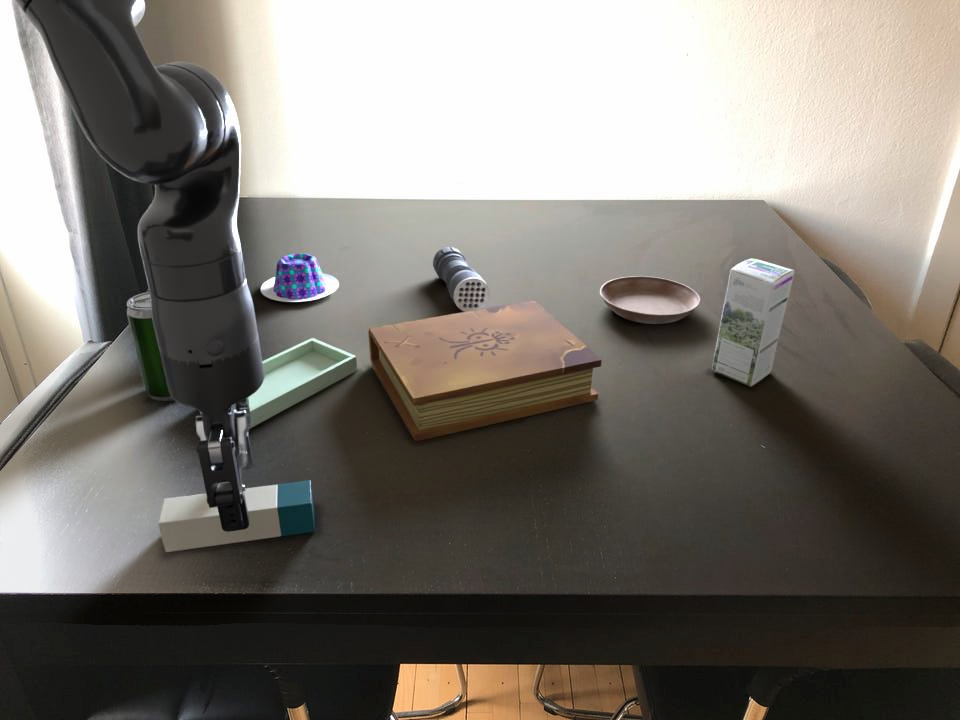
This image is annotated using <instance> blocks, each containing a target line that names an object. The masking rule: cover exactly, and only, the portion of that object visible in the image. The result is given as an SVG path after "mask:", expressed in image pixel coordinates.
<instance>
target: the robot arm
mask: <svg viewBox="0 0 960 720" xmlns="http://www.w3.org/2000/svg"><path fill="white" fill-rule="evenodd" d="M14 1H15V2H16V4H17V5H18V6H19V8H20V9H21V10H22V12H23V14H25V16H26V18H27V19H28V20H29V21H30V23H31V24H32V25H33V27H34V28H35V29H36V30H37V32H38V33H39V35H40V37H41V38H42V41H43V42H44V46H45V49H46V51H47V53H48V56H49V59H50V62H51V64H52V67H53V69H54V71H55V74H56V76H57V78H58V80H59V82H60V84H61V87H62V89H63V91H64V94H65V95H66V99H67V100H68V103H69V105H70V108H71V110H72V112H73V114H74V116H75V118H76V121H77V123H78V125H79V126H80V129H81V130H82V132H83V134H84V135H85V137H86V139H87V140H88V141H89V143H90V145H91V147H93V148H94V150H95V151H96V153H97V154H98V155H99V156H100V157H101V158H102V159H103V160H104V161H105V162H106V163H107V164H108V165H109V166H111V168H113V169H114V170H116V171H117V172H119V173H120V174H121V175H122V176H124V177H126V178H128V179H130V180H132V181H134V182H136V183H139V184H142V185H143V184H144V185H148V186H150V185H151V186H154V196H153V199H152V201H151V203H150V205H149V206H148V207H147V209H146V210H145V212H144V213H143V214H142V216H141V218H140V219H139V222H138V224H137V241H138V247H139V251H140V257H141V260H142V264H143V270H144V274H145V277H146V281H147V282H146V283H147V287H148V292H150V298H151V313H152V320H153V326H154V330H155V334H156V338H157V343H158V347H159V352H160V356H161V360H162V365H163V369H164V373H165V378H166V382H167V386H168V391H169V393H170V395H171V397H172V398H173V399H174V400H173V401H175V402H177V403H178V404H180V405H183V406H185V407H189V408H193V409H195V410H198V411H199V414H200V415H196V416H195V430H196V435H197V436H198V437H199V439H200V440H197V445H196V447H195V448H196V449H195V450H196V453H197V454H198V459H199V464H200V468H201V469H200V470H201V474H202V479H203V484H204V488H205V494H207V504H209V508H213V507H218V512H219V517H220V522H221V526H222V529H223V530H224V531H226V532H230V531H237V530H244V529H247V528H248V527H249V514H248V509H247V504H246V498H245V493H244V491H246V488H247V487H246V484H245V481H244V472H243V471H244V470H250V469H252V467H253V466H254V465H253V464H254V458H253V453H252V446H251V440H250V436H249V432H250V429H251V428H250V423H251V418H250V407H249V398H248V397H249V396H251V395H252V394H254V393H255V392H256V391H257V390H258V389H259V388H260V387H261V385H262V383H263V380H264V369H263V363H262V361H263V357H262V351H261V345H260V338H259V332H258V325H257V320H256V312H255V306H254V302H253V301H254V300H253V298H252V294H251V292H250V288H249V285H248V281H247V277H246V269H245V262H244V255H243V250H242V246H241V245H242V243H241V240H240V239H241V238H240V235H239V231H238V209H239V202H240V201H239V200H240V191H241V189H240V187H241V186H240V185H241V164H242V163H241V159H242V142H241V140H242V139H241V128H240V123H239V119H238V114H237V111H236V108H235V105H234V103H233V100H232V98H231V96H230V94H229V92H228V91H227V89H226V87H225V86H224V84H223V83H222V82H221V80H220V79H219V78H218V77H217V76H215V74H213V73H212V72H211V71H210V70H208V69H207V68H205V67H203V66H201V65H199V64H197V63H194V62H188V61H172V62H166V63H162V64H159V65H155V64H154V63H153V61H152V60H151V58H150V56H149V54H148V52H147V49H146V48H145V45H144V43H143V42H142V39H141V37H140V35H139V32H138V31H137V28H136V27H137V26H138V25H139V24H140V23H141V21H142V19H143V18H144V15H145V11H146V1H145V0H14ZM249 428H250V429H249Z"/></svg>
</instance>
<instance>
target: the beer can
mask: <svg viewBox="0 0 960 720" xmlns="http://www.w3.org/2000/svg"><path fill="white" fill-rule="evenodd" d="M126 306H127V308H126V312H125V313H126V317H127V321H128V325H129V329H130V333H131V337H132V341H133V346H134V351H135V355H136V359H137V363H138V367H139V372H140V375H141V380H142V384H143V388H144V391H145V393H146V394H147V396H148V397H149V398H150V399H152V400H154V401H158V402H171V401H175V400H174V399H173V398H172V397H171V395H170V393H169V391H168V386H167V382H166V378H165V373H164V369H163V365H162V360H161V356H160V352H159V347H158V343H157V338H156V334H155V330H154V326H153V320H152V313H151V298H150V292H149V291H147V292H142V293H139V294H136V295H134V296H132V297H130V298H128V300H127V301H126Z"/></svg>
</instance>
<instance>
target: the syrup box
mask: <svg viewBox="0 0 960 720" xmlns="http://www.w3.org/2000/svg"><path fill="white" fill-rule="evenodd" d="M794 276H795V269H792V268H788V267H785V266H781V265H777V264H774V263H771V262H769V261H764V260H761V259H757V258H754V257H751V258H749V259H745V260H744V261H741V262H740V263H738V264H736V265H735V266H734V267H732V268H730V271H729V276H728V282H727V287H726V293H725V297H724V303H723V309H722V313H721V319H720V323H719V329H718V335H717V339H716V345H715V351H714V355H713V360H712V366H711V372H713V373H716V374H718V375H720V376H723V377H725V378H728V379H730V380H732V381H735V382H737V383H740V384H742V385H745V386H746V387H750V388H751V387H753V386H755V385H756V384H757V383H759V382H760V381H762V380H763V379H765V377H767V376H768V375H770V374H771V372H772V371H773V366H774V361H775V355H776V351H777V346H778V343H779V338H780V333H781V330H782V326H783V321H784V318H785V313H786V309H787V307H788V301H789V298H790V293H791V290H792V285H793V281H794Z"/></svg>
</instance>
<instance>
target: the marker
mask: <svg viewBox="0 0 960 720" xmlns="http://www.w3.org/2000/svg"><path fill="white" fill-rule="evenodd" d="M244 493H245V498H246V504H247V509H248V514H249V527H248V528H247V529H244V530H237V531H230V532H226V531H224V530H223V529H222V526H221V522H220V517H219V512H218V507H213V508H209V504H207V494H206V493H199V494H191V495H184V496H182V495H181V496H175V497H167V498H163V501H162V505H161V508H160V513H159V518H158V523H157V525H158V527H159V533H160V537H161V540H162V544H163V548H164V552H165V553H171V552H179V551H186V550H192V549H193V550H194V549H199V548H200V549H201V548H208V547H215V546H222V545H229V544H236V543H243V542H251V541H258V540H264V539H272V538H278V537H288V536H293V535H295V536H296V535H300V534H301V535H303V534H308V533H315V532H316V526H315V524H316V523H315V509H314V499H313V491H312V482H311V480H309V479H308V480H303V481H302V480H301V481H294V482H287V483H279V484H272V485H271V484H270V485H263V486H262V485H261V486H254V487H246V491H244Z"/></svg>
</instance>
